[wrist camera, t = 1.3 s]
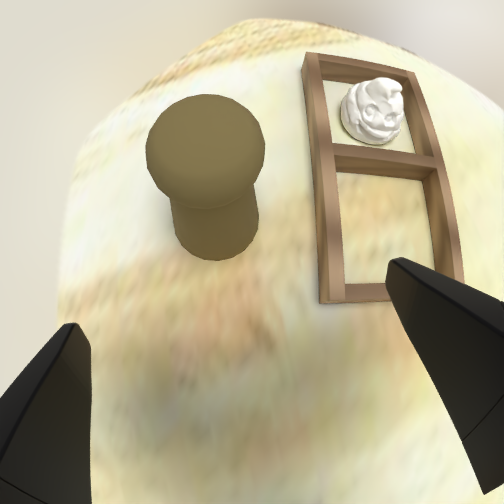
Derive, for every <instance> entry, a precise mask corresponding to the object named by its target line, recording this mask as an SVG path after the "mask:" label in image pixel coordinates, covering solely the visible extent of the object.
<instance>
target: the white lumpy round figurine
mask: <svg viewBox="0 0 504 504" xmlns="http://www.w3.org/2000/svg"><path fill="white" fill-rule="evenodd" d="M401 91H402V86H401V85H400V84H399V83H398V82H397V81H395V80H392V79H389V78H384V77H380V78H376V79H374V80H370V81H364V82H361V83H358V84H355V85H354V86H352V87H351V88H350V89H349V91H348V93H347V95H346V96H345V97H344V98H343V100H342V103H341V120H342V123H343V125H344V127H345V129H346V130H347V131H348V133H349V134H350V135H351V136H352V137H354V138H355V139H357V140H360V141H362V142H365V143H368V144H375V145H377V144H385V143H387V142H388V141H390V140H393V139H394V138H395V137H397V136H398V134H399V132H400V127H401V122H402V120H403V117H404V112H403V107H404V106H403V97H402V95H401V93H400V92H401Z"/></svg>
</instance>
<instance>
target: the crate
mask: <svg viewBox="0 0 504 504" xmlns="http://www.w3.org/2000/svg"><path fill="white" fill-rule="evenodd" d="M301 72H302V79H303V87H304V95H305V103H306V111H307V120H308V130H309V139H310V150H311V160H312V172H313V184H314V197H315V212H316V229H317V248H318V271H319V303H355V302H380V301H391V299H390V296H389V294H388V292H387V290H386V286H385V283H373V284H345V279H344V260H343V244H342V230H341V218H340V207H339V196H338V186H337V177H336V172H348V173H359V174H370V175H379V176H389V177H397V178H406V179H414V180H421V181H422V183H423V188H424V193H425V198H426V204H427V209H428V216H429V222H430V229H431V236H432V243H433V252H434V261H435V271H436V272H439V273H441V274H443V275H446V276H448V277H450V278H452V279H455V280H457V281H459V282H461V283H464V272H463V262H462V254H461V246H460V239H459V232H458V226H457V220H456V214H455V209H454V204H453V199H452V194H451V189H450V185H449V180H448V176H447V172H446V168H445V164H444V160H443V156H442V153H441V149H440V146H439V142H438V139H437V135H436V132H435V129H434V126H433V123H432V120H431V116H430V114H429V111H428V108H427V105H426V102H425V99H424V96H423V94H422V91H421V88H420V86H419V83H418V81H417V78H416V76H415V73H414V72H410V71H406V70H403V69H399V68H395V67H390V66H386V65H382V64H377V63H373V62H368V61H363V60H357V59H352V58H346V57H340V56H334V55H327V54H320V53H312V52H306V54H305V58H304V62H303V65H302V69H301ZM380 77H384V78H389V79H392V80H395V81H397V82H398V83H399V84H400V85H401V86H402V91H401V92H400V93H401V95H402V97H403V106H404V107H403V108H404V111H405V115H406V118H407V121H408V125H409V129H410V132H411V136H412V140H413V143H414V147H415V151H416V154H413V153H407V152H400V151H394V150H387V149H380V148H372V147H364V146H356V145H347V144H337V143H332V137H331V130H330V124H329V117H328V111H327V105H326V98H325V93H324V87H323V81H322V79H323V80H331V81H338V82H345V83H351V84H358V83H361V82H364V81H370V80H374V79H376V78H380ZM464 284H465V283H464Z"/></svg>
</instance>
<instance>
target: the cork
mask: <svg viewBox="0 0 504 504" xmlns="http://www.w3.org/2000/svg"><path fill="white" fill-rule="evenodd" d="M264 154H265V141H264V138H263V134H262V131H261V128H260V125H259V122H258V121H257V120H256V119H255V117H254V116H253V115H252V113H251V112H250V111H249V110H248V109H247V108H245V107H244V106H242V105H241V104H239V103H238V102H236V101H235V100H233V99H230V98H227V97H224V96H220V95H211V94H201V95H196V96H191V97H187V98H184V99H182V100H180V101H178V102H176V103H174V104H172V105H171V106H170V107H168V108H167V109H166V110H165V111H164V112H162V113H161V115H160V116H159V117H158V119H157V120H156V122H155V123H154V125H153V126H152V128H151V129H150V131H149V135H148V138H147V142H146V161H147V169H148V171H149V172H150V174H151V176H152V178H153V180H154V182H155V184H156V185H157V187H158V189H160V190H161V191H162V192H163V193H164V194H165V195H166V196H168V197H169V198H170V203H171V210H172V216H173V223H174V228H175V234H176V236H177V238H178V239H179V241H180V243H181V245H182V246H183V247H184V248H185V249H186V250H187V251H189V252H190V253H191V254H192V255H195V256H197V257H199V258H202V259H204V260H214V261H220V260H224V259H229V258H232V257H234V256H236V255H237V254H239V253H241V252H242V251H244V250H245V249H246V248H247V247H248V245H249V244H250V243H251V242H252V241H253V239H254V236H255V234H256V232H257V229H258V220H259V214H258V208H257V202H256V196H255V190H254V185H253V184H254V183H255V181H256V179H257V177H258V175H259V173H260V171H261V169H262V167H263V162H264Z"/></svg>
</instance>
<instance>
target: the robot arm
mask: <svg viewBox="0 0 504 504" xmlns="http://www.w3.org/2000/svg"><path fill="white" fill-rule="evenodd" d="M385 286H386V290H387V292H388V294H389V296H390V299H391V301H392V303H393V305H394V307H395V310H396V312H397V314H398V316H399V319H400V321H401V323H402V325H403V327H404V329H405V331H406V333H407V335H408V337H409V339H410V341H411V342H412V344H413V346H414V348H415V350H416V351H417V353H418V355H419V357H420V359H421V360H422V362H423V364H424V366H425V368H426V370H427V372H428V374H429V376H430V377H431V379H432V381H433V383H434V385H435V387H436V389H437V391H438V393H439V395H440V397H441V399H442V401H443V403H444V405H445V407H446V409H447V411H448V413H449V415H450V417H451V420H452V422H453V424H454V426H455V428H456V430H457V433H458V435H459V437H460V439H461V441H462V444H463V446H464V449H465V451H466V453H467V456H468V458H469V460H470V463H471V465H472V467H473V470H474V472H475V475H476V477H477V480H478V482H479V485H480V487H481V490H482V492H483V494H484V495H485V494H487V493H489V492H490V491H492V490H494V489H495V488H497V487H499V486H500V485H502V484H504V302H503V301H499V300H498V299H496V298H494V297H492V296H490V295H488V294H485V293H483V292H481V291H479V290H477V289H475V288H472V287H470V286H468V285H466V284H464V283H461V282H459V281H457V280H455V279H452V278H450V277H448V276H446V275H443V274H441V273H439V272H436V271H434V270H432V269H429V268H427V267H425V266H422V265H420V264H418V263H415V262H413V261H411V260H408V259H406V258H403V257H399V258H395V259H392V260H390V261H389V263H388V269H387V275H386V281H385ZM91 403H92V383H91V346H90V343H89V341H88V339H87V338H86V336H85V334H84V333H83V331H82V329H81V328H80V326H79V325H78V324H77V323H67V324H64V325H63V326H62V327H61V328H60V329H59V330H58V331H57V332H56V333H55V334H54V335H53V337H52V338H51V339H50V340H49V341H48V342H47V343H46V344H45V345H44V347H43V348H42V349H41V350H40V351H39V352H38V353H37V355H36V356H35V357H34V358H33V359H32V360H31V361H30V363H29V364H28V365H27V366H26V367H25V368H24V370H23V371H22V372H21V373H20V374H19V376H18V377H17V378H16V379H15V380H14V382H13V383H12V384H11V385H10V387H9V388H8V389H7V390H6V391H5V393H4V394H3V395H2V397H1V398H0V504H92V498H91V477H90V425H91Z"/></svg>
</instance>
